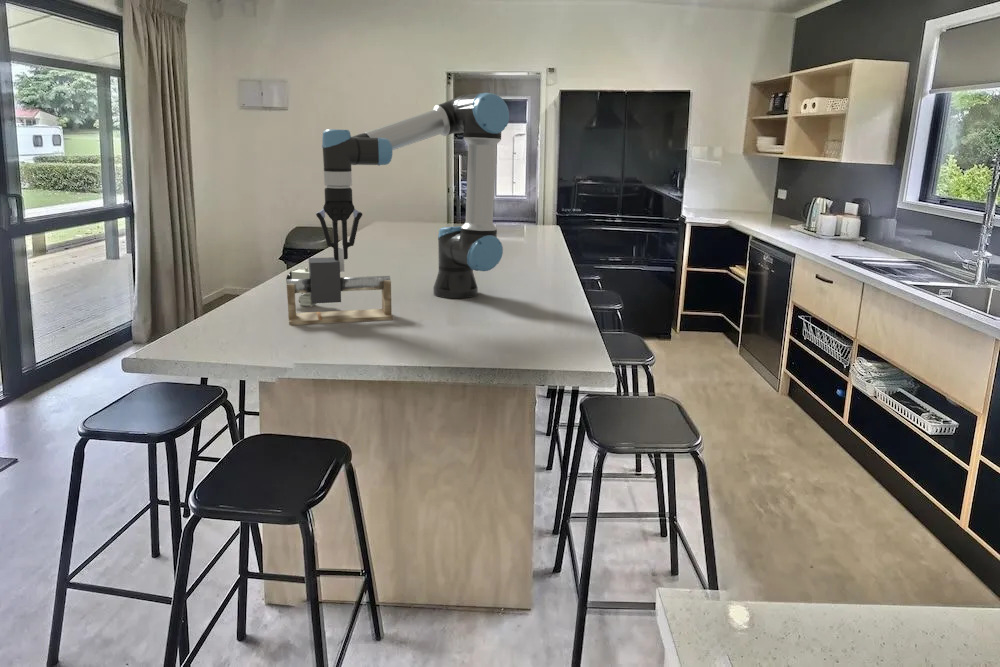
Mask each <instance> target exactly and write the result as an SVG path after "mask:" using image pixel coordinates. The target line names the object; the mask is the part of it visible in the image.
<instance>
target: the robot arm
mask: <svg viewBox="0 0 1000 667" xmlns="http://www.w3.org/2000/svg"><path fill="white" fill-rule="evenodd" d="M509 121H510V110H509V107H508V105H507V103H506V102H505V101H504V98H502V97H501V96H500V95H498V94H496V93H492V92H491V93H490V92H479V93H478V92H477V93H467V94H462V95H460V96H457V97H455V98H452V99H449V100H447V101H445V102H443V103H440V104H436V105H434V106H433V107H432V109H431V110H430V111H426V112H424V113H420V114H417V115H415V116H411V117H408V118H405V119H402V120H399V121H396V122H393V123H390V124H387V125H384V126H381V127H378V128H374V129H371V130H368V131H365V132H362V133H358V134H356V135H353V136H352V135H351V131H350V130H349V129H334V128H333V129H329V128H327V129H325V130H323V132H322V137H321V139H322V142H321V143H322V144H321V147H322V160H323V184H324V186H325V187H324V205H323V208H322V209H321V210H320V211H317V212H315V215H316V218H317V219H318V220H319V221H320V225H321V229H322V231H323V232H322V233H323V235H324V239H325V242H326V245H327V247H329V248H333V257H334V259H335V260H339V262H340V273H341V272H345V260H348V259H349V258H348V257H349V256H348V255H349V253H348V249H349V247H353V246H354V244H355V241H356V236H357V231H358V227H359V222H360V220H361V218H362V217H363V213H362V212H361V211H359V210H357V209H355V206H354V203H353V189H352V185H353V180H352V179H353V178H352V176H353V173H352V166H387V165H389V164H390V162H392V158H393V151H396V150H398V149H400V148H404V147H406V146H410V145H413V144H416V143H418V142H422V141H425V140H428V139H430V138H433V137H436V136H439V135H441V136H443V137H446V136H449V135H453V134H461V133H463V139H464V140H465V142H466V143H467V175H466V198H465V201H466V202H465V221H464V223H463V224H462V225H461V226H444V227H440V228H439V230H438V237H437V240H438V243H437V244H438V246H437V247H438V272H437V274H436V278H435V281H434V283H433V284H434V285H433V295H434V296H436V297H439V298H447V299H467V298H472V297H473V298H474V297H476V296H477V295H478V294H479V292H478V291H479V288H478V283H477V281H476V277H475V274H474V271H477V272H488V271H491V270H493V269H494V268H496V267H497V265H498V264H499V263H500V262H501V260H502V257H503V253H504V248H503V244H502V242H501V241H500V239H499V238H497V235H498V228H497V226H495V224H494V223H493V222H494V201H495V200H494V199H495V198H494V196H495V174H496V154H497V153H496V152H497V151H496V150H497V145H498V144H499V143H500V142H501V141H502V132H503V131H504V130H505V129H506V127H507V126H508V125H509ZM326 214H327V217H329V219H330V220H331V223H332V240H331V236H330V234H329V230H328V226H327V223H326V220H325V218H326ZM351 216H353V221H352V224H351V225H352V226H351V230H350V234H349V239H348V219H350V217H351ZM339 221H340V222H341V236H342V237H341V240H342V243H341V244H342V247H339V228H338V222H339Z"/></svg>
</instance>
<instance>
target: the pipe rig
mask: <svg viewBox="0 0 1000 667" xmlns="http://www.w3.org/2000/svg"><path fill="white" fill-rule="evenodd" d="M285 281H286V280H285ZM286 282H287V281H286ZM286 282H285V283H286ZM286 293H287V294H286V295H287V298H286V299H287V312H288V313H287V316H288V325H289V326H296V325H297V326H299V325H300V326H301V325H315V324H318V325H319V324H333V323H334V324H337V323H353V322H371V321H373V322H374V321H388V320H390V321H392V320H394V316H393V314H392V312H393V310H392V280H391V279H390V280H384V289H383V290H381V307H382V308H370V309H353V310H334V311H333V310H331V311H312V312H311V311H309V312H297V309H296V307H297V306H296V293H295V287H294V284H287V283H286Z"/></svg>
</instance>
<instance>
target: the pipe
mask: <svg viewBox="0 0 1000 667" xmlns="http://www.w3.org/2000/svg"><path fill="white" fill-rule="evenodd" d="M384 280H391V275H377V276H376V275H374V276H370V275H369V276H368V275H367V276H347V277H346V276H344V277H341V276H340V283H341V292H356V291H357V292H358V291H359V292H360V291H382V290H383V289H384ZM285 281H287V283H286V285H287V284H294V287H295V294H301V293H303V294H306V293H311V279H286V278H285Z"/></svg>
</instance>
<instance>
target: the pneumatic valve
mask: <svg viewBox="0 0 1000 667" xmlns="http://www.w3.org/2000/svg"><path fill="white" fill-rule="evenodd" d="M286 279H310V277H309V267H304V269H302V268H301V269H299V268H296V269H294V270H290V271H289V273H287V275H286V278H285V280H286ZM285 284H287V282H285ZM298 303H299V305H300V306H301V307H305V308H307V307H314V306H315V305H317V304H318V303H314V304H312V301H311V297H310V293H300V295H299V297H298Z"/></svg>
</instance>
